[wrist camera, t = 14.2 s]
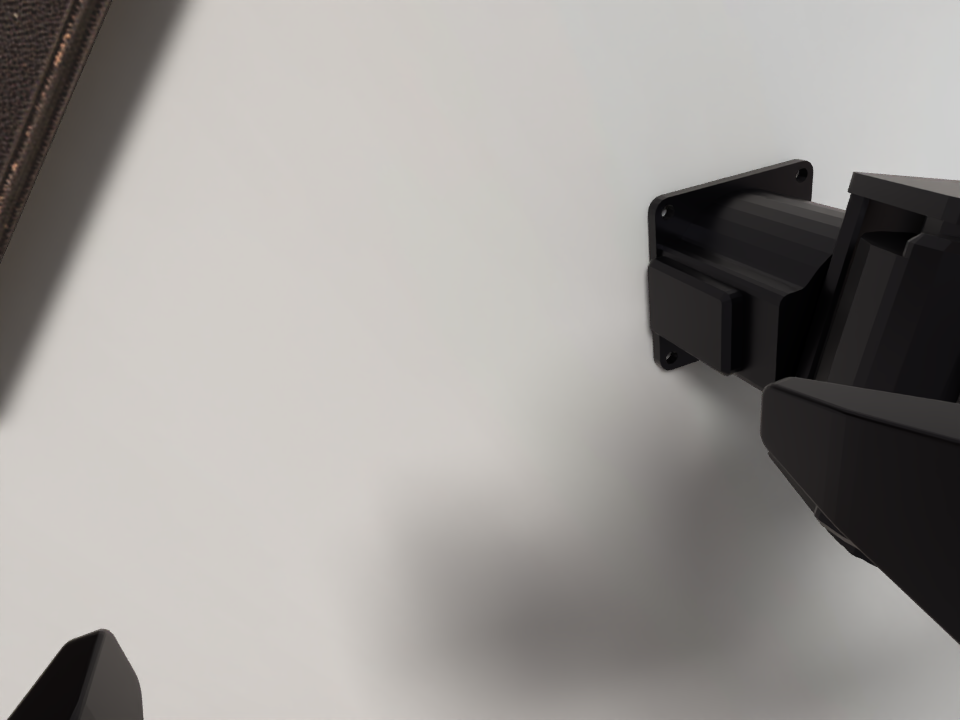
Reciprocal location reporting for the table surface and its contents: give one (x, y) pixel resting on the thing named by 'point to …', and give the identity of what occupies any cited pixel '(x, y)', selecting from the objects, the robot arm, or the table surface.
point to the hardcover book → (37, 87)
